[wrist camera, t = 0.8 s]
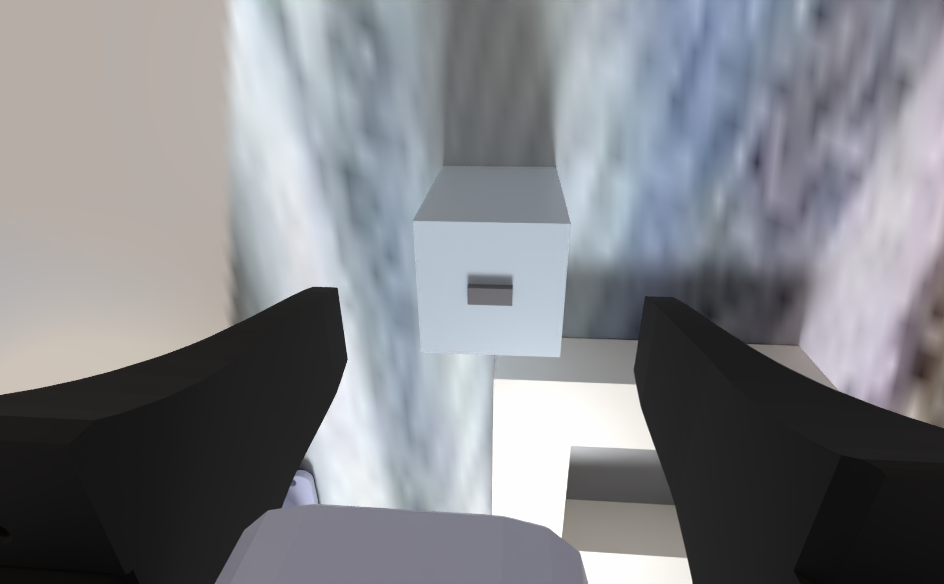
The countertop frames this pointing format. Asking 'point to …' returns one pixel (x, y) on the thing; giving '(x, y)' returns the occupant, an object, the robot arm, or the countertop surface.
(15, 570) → the robot arm
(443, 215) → the block
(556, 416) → the block
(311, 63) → the countertop surface
